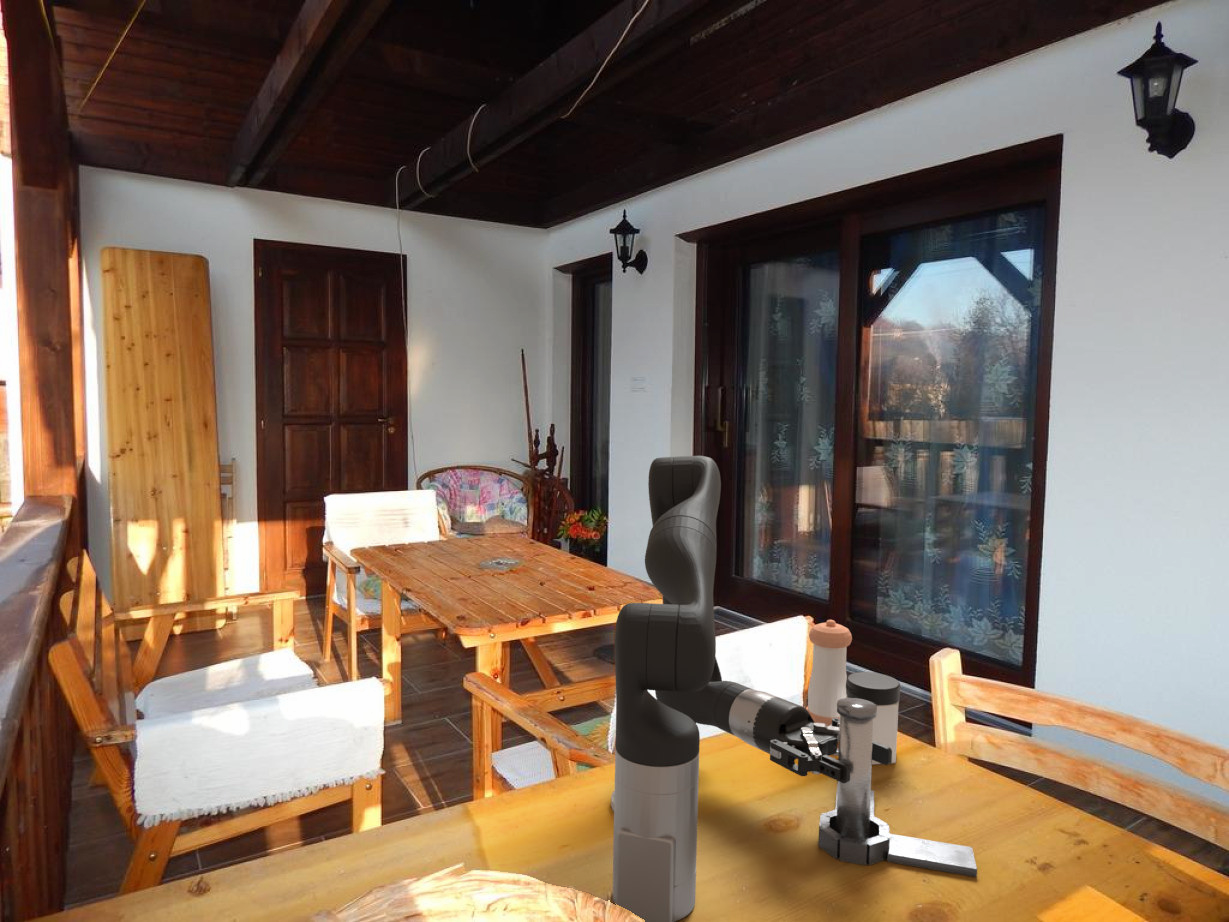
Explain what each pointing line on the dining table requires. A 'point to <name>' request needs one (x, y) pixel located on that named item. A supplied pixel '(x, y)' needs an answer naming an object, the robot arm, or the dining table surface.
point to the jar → (878, 704)
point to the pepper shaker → (827, 670)
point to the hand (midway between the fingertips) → (869, 765)
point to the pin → (855, 766)
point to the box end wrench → (893, 847)
